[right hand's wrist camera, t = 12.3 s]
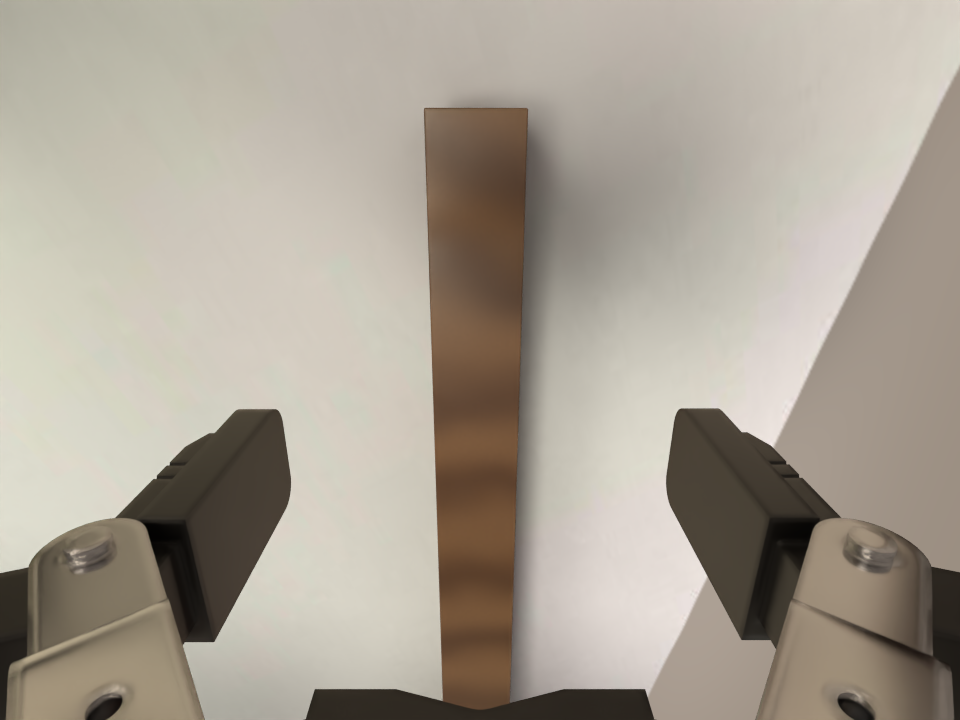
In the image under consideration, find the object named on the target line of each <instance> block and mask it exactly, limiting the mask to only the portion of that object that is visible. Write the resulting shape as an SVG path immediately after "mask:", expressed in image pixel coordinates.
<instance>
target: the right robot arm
mask: <svg viewBox="0 0 960 720" xmlns="http://www.w3.org/2000/svg"><path fill="white" fill-rule="evenodd" d="M666 488H667V495H668V500H669V503H670V506H671V508H672V510H673V512H674V514H675V516H676V518H677V519H678V521H679V523H680V525H681V527H682V529H683V531H684V533H685V535H686V536H687V538H688V540H689V542H690V544H691V546H692V548H693V550H694V551H695V553H696V555H697V557H698V559H699V561H700V563H701V565H702V566H703V568H704V570H705V572H706V574H707V576H708V578H709V580H710V582H711V583H712V585H713V587H714V589H715V591H716V593H717V595H718V597H719V598H720V600H721V602H722V604H723V606H724V608H725V610H726V612H727V613H728V615H729V617H730V619H731V621H732V623H733V625H734V627H735V628H736V630H737V632H738V634H739V636H740V638H741V640H771V641H772V643H773V645H774V646H775V648H776V652H775V655H774V659H773V662H772V665H771V669H770V672H769V675H768V679H767V682H766V686H765V689H764V692H763V695H762V699H761V702H760V706H759V709H758V712H757V716H756V719H755V720H960V572H955V571H950V570H945V569H940V568H935V567H931V565H930V563H929V561H928V559H927V558H926V556H925V555H924V554H923V553H922V552H921V551H920V550H919V549H918V548H917V547H916V546H915V545H913V544H912V543H911V542H909V541H908V540H906V539H905V538H903V537H901V536H900V535H898V534H896V533H894V532H892V531H890V530H888V529H885V528H883V527H880V526H877V525H875V524H872V523H868V522H865V521H860V520H855V519H848V518H841V517H840V516H839V515H838V514H837V513H836V512H835V511H834V510H833V509H832V508H831V507H830V506H829V505H828V504H827V503H826V502H825V501H824V500H823V499H822V498H821V497H820V496H819V495H818V494H817V492H816V491H815V490H814V489H813V488H812V487H811V486H810V485H809V484H808V483H807V482H806V481H805V480H804V479H803V478H799V474H798V473H797V472H796V471H795V470H794V469H793V468H792V467H791V466H790V465H786V461H785V460H784V459H783V458H782V457H781V456H780V455H779V454H778V453H777V452H776V451H775V449H774V448H773V447H772V446H770V445H769V444H767V443H765V442H763V441H762V440H760V439H758V438H756V437H754V436H753V435H751V434H749V433H747V432H741V431H740V430H739V429H738V428H737V427H736V426H735V425H734V423H733V422H732V421H731V420H730V419H729V418H728V417H727V416H726V415H725V414H724V413H723V411H721V410H720V409H679V410H678V412H677V414H676V416H675V420H674V427H673V434H672V441H671V448H670V455H669V462H668V469H667V476H666ZM290 491H291V476H290V469H289V462H288V455H287V448H286V441H285V434H284V427H283V421H282V417H281V415H280V413H279V411H278V410H276V409H238V410H236V411H235V412H234V413H233V414H232V415H231V416H230V417H229V418H228V420H227V421H226V422H225V423H224V424H223V425H222V426H221V427H220V428H219V429H218V430H217V431H216V432H215V433H209V434H207V435H206V436H204V437H202V438H200V439H198V440H197V441H195V442H193V443H191V444H190V445H188V446H186V447H185V448H184V449H183V450H182V451H181V452H180V453H179V454H178V455H177V456H176V457H175V458H174V459H173V460H172V461H171V462H170V466H166V467H165V468H164V469H163V470H162V471H161V472H160V473H159V474H158V475H157V479H153V480H152V481H151V482H150V483H149V484H148V485H147V486H146V487H145V488H144V489H143V490H142V491H141V492H140V493H139V494H138V495H137V496H136V497H135V498H134V500H133V501H132V502H131V503H130V504H129V505H128V506H127V507H126V508H125V509H124V510H123V511H122V512H121V513H120V514H119V515H118V516H117V517H116V518H112V519H105V520H100V521H95V522H92V523H88V524H85V525H82V526H80V527H77V528H75V529H72V530H70V531H68V532H66V533H64V534H62V535H60V536H59V537H57V538H55V539H54V540H52V541H51V542H49V543H48V544H47V545H45V546H44V547H43V548H42V549H41V550H40V551H39V552H38V553H37V554H36V555H35V556H34V558H33V559H32V561H31V563H30V565H29V567H28V568H24V569H19V570H14V571H9V572H4V573H0V720H205V719H204V716H203V712H202V709H201V706H200V702H199V699H198V696H197V692H196V689H195V685H194V682H193V679H192V675H191V672H190V669H189V665H188V662H187V659H186V655H185V652H184V649H183V644H184V642H214V641H215V639H216V638H217V636H218V634H219V632H220V630H221V628H222V626H223V625H224V623H225V621H226V619H227V617H228V615H229V613H230V612H231V610H232V608H233V606H234V604H235V602H236V600H237V599H238V597H239V595H240V593H241V591H242V589H243V587H244V586H245V584H246V582H247V580H248V578H249V576H250V574H251V573H252V571H253V569H254V567H255V565H256V563H257V561H258V560H259V558H260V556H261V554H262V552H263V550H264V548H265V547H266V545H267V543H268V541H269V539H270V537H271V535H272V534H273V532H274V530H275V528H276V526H277V524H278V522H279V521H280V519H281V517H282V515H283V513H284V511H285V509H286V507H287V505H288V501H289V497H290ZM305 720H655V719H654V717H653V714H652V710H651V707H650V704H649V701H648V697H647V694H646V691H645V689H563V690H559V691H555V692H552V693H548V694H544V695H540V696H536V697H532V698H528V699H524V700H520V701H517V702H513V703H509V704H505V705H501V706H497V707H493V708H489V709H483V710H477V709H471V708H467V707H463V706H459V705H455V704H451V703H447V702H443V701H440V700H436V699H432V698H428V697H424V696H420V695H416V694H412V693H408V692H405V691H401V690H397V689H315V691H314V694H313V697H312V701H311V704H310V707H309V710H308V714H307V717H306V719H305Z"/></svg>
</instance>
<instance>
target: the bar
mask: <svg viewBox="0 0 960 720" xmlns="http://www.w3.org/2000/svg"><path fill="white" fill-rule="evenodd" d="M527 124H528V109H527V108H424V125H425V156H426V187H427V218H428V249H429V280H430V312H431V343H432V374H433V405H434V436H435V467H436V499H437V530H438V561H439V592H440V623H441V654H442V685H443V702H447V703H451V704H455V705H459V706H463V707H467V708H471V709H477V710H483V709H489V708H493V707H497V706H501V705H505V704H509V703H510V681H511V649H512V616H513V583H514V550H515V517H516V485H517V452H518V419H519V386H520V353H521V321H522V288H523V255H524V222H525V189H526V157H527Z"/></svg>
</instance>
